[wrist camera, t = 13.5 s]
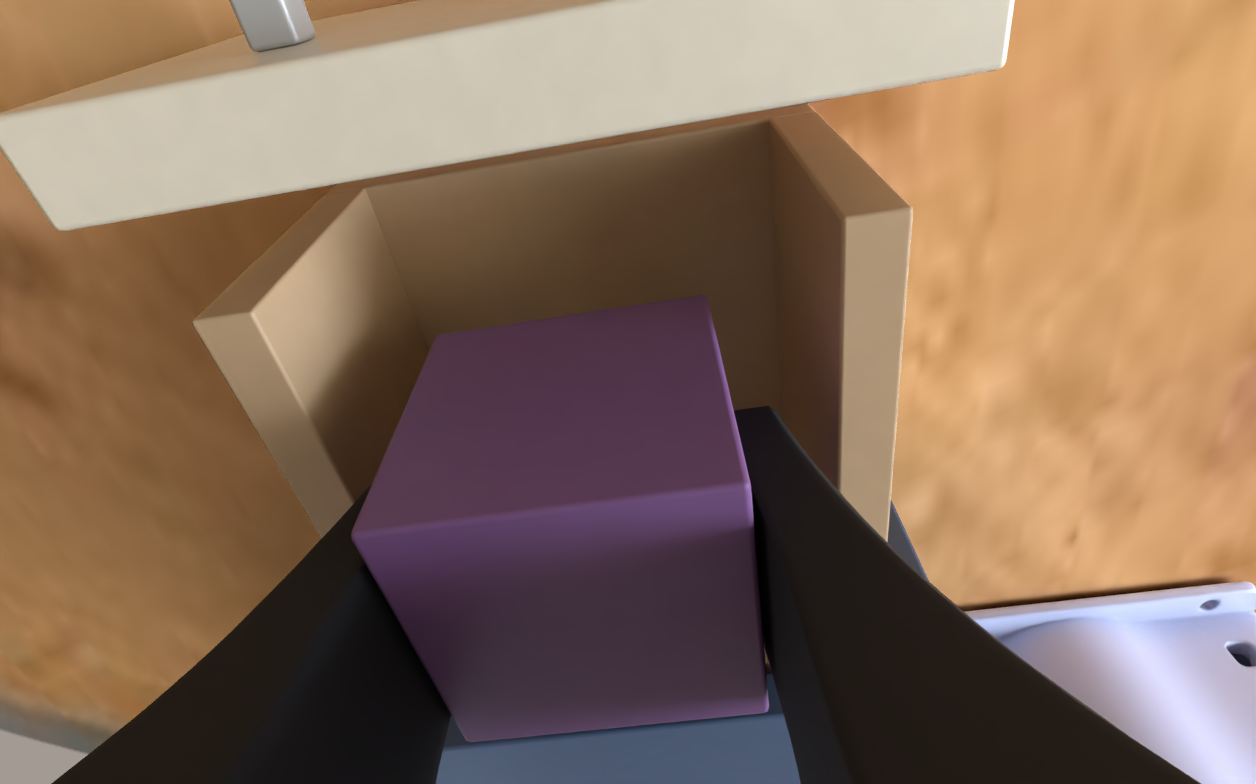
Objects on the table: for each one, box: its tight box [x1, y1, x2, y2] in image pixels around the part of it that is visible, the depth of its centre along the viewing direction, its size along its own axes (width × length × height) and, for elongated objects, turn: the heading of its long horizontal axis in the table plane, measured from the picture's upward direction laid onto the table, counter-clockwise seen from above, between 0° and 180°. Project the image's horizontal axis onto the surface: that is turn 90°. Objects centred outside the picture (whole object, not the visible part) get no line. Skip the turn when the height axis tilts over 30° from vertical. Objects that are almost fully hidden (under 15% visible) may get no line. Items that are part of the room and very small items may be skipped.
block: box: [351, 295, 769, 742], centre depth 9 cm, size 4×4×4 cm
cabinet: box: [436, 501, 929, 784], centre depth 18 cm, size 13×11×8 cm
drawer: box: [0, 0, 1015, 675], centre depth 10 cm, size 16×10×6 cm, turn 9°
